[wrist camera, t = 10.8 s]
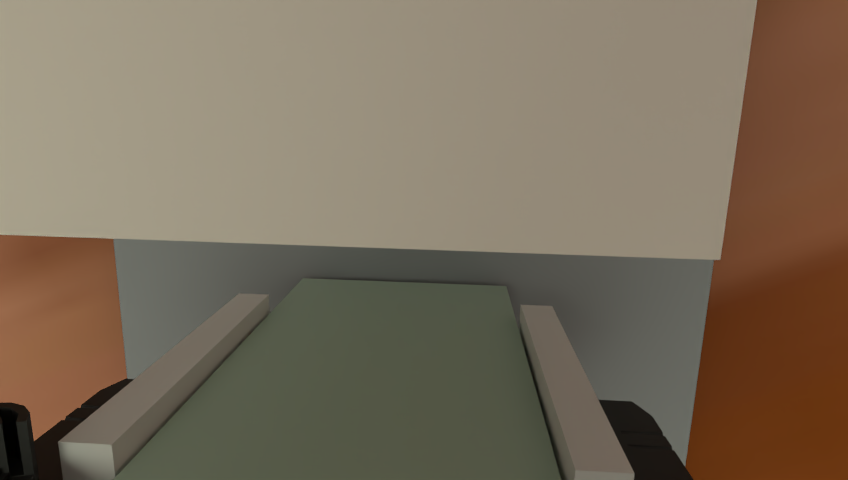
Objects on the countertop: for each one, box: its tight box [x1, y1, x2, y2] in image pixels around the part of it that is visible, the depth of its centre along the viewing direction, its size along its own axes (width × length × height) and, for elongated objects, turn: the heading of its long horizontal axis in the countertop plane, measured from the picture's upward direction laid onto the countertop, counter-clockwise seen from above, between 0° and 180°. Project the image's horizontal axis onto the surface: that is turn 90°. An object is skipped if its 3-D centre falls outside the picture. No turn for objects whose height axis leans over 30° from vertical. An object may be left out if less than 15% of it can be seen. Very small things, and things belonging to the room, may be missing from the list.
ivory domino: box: [0, 0, 757, 260], centre depth 10 cm, size 6×2×13 cm, turn 89°
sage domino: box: [113, 278, 561, 480], centre depth 10 cm, size 6×2×13 cm, turn 89°
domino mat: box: [113, 239, 714, 466], centre depth 16 cm, size 18×38×1 cm, turn 179°
